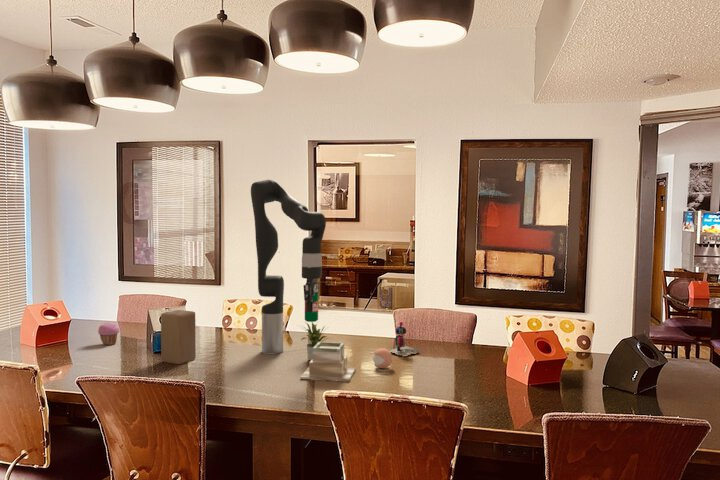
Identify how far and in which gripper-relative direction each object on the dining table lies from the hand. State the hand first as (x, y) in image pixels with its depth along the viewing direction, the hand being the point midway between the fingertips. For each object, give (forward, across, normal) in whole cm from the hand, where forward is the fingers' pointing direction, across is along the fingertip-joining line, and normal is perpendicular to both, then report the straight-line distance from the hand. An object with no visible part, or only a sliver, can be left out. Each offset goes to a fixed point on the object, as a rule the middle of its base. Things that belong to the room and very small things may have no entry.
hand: (311, 310), depth 209 cm
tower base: (+24, -1, +6) cm, 25 cm away
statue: (+24, -39, +31) cm, 55 cm away
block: (+24, -7, -58) cm, 63 cm away
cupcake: (+23, -27, -103) cm, 109 cm away
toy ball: (+24, -14, +25) cm, 37 cm away
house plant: (+24, -20, -5) cm, 32 cm away
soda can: (+4, 0, 0) cm, 4 cm away
